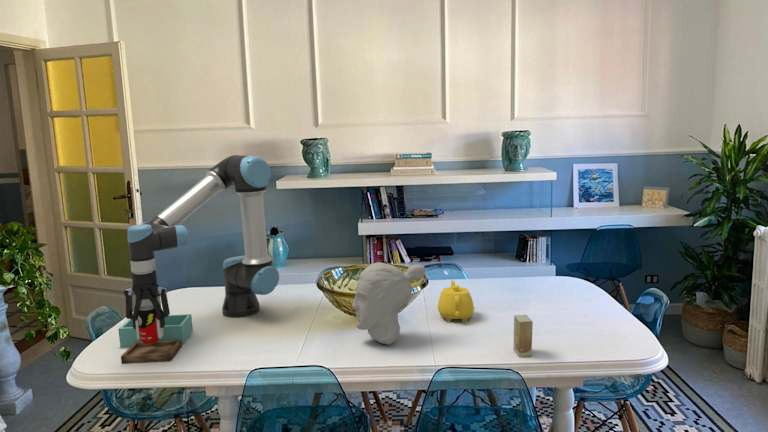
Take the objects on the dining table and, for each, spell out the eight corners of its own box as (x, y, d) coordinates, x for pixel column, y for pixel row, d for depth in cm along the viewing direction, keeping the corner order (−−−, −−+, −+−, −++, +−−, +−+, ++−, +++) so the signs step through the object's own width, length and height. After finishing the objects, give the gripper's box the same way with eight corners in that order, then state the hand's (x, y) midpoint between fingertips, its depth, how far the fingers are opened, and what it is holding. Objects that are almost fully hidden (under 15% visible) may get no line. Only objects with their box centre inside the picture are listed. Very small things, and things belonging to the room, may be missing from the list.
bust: (351, 335, 203) (348, 260, 198) (421, 328, 207) (420, 255, 203) (356, 351, 189) (352, 271, 184) (431, 344, 193) (430, 265, 188)
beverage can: (145, 337, 194) (142, 304, 192) (163, 337, 193) (160, 304, 191) (137, 344, 187) (133, 310, 185) (155, 344, 187) (152, 310, 185)
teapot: (439, 326, 210) (439, 293, 208) (436, 308, 230) (435, 278, 227) (476, 325, 209) (476, 292, 207) (469, 307, 229) (469, 277, 227)
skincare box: (512, 349, 187) (513, 314, 185) (525, 348, 187) (526, 313, 185) (519, 357, 180) (519, 321, 178) (532, 356, 181) (532, 320, 179)
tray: (181, 346, 198) (181, 339, 197) (170, 361, 186) (170, 354, 186) (135, 348, 197) (134, 342, 197) (121, 363, 185) (120, 356, 185)
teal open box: (193, 331, 212) (191, 314, 210) (183, 344, 200) (181, 325, 198) (133, 334, 210) (131, 316, 209) (120, 347, 199) (118, 328, 197)
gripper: (176, 267, 191) (182, 331, 194) (118, 269, 190) (125, 334, 193) (169, 273, 183) (175, 340, 187) (109, 275, 182) (116, 342, 186)
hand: (150, 337), depth 190 cm, fingers closed on beverage can, 6 cm apart
